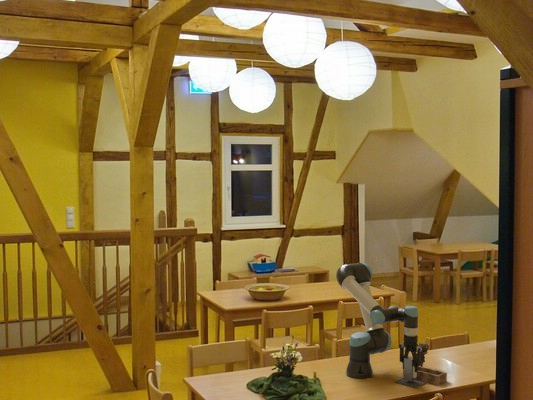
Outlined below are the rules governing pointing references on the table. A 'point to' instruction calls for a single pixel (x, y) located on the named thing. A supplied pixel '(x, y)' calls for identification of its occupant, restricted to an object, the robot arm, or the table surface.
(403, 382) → the rubber mat
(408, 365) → the metal block
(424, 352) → the figurine
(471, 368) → the table surface
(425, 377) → the channel
